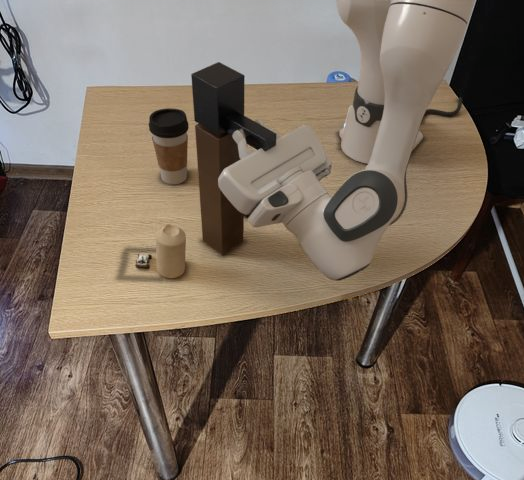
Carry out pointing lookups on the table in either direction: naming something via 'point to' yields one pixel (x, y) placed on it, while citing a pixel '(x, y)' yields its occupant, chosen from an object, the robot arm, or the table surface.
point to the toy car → (143, 260)
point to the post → (217, 190)
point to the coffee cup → (170, 143)
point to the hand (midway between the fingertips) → (245, 127)
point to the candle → (170, 251)
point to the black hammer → (226, 105)
